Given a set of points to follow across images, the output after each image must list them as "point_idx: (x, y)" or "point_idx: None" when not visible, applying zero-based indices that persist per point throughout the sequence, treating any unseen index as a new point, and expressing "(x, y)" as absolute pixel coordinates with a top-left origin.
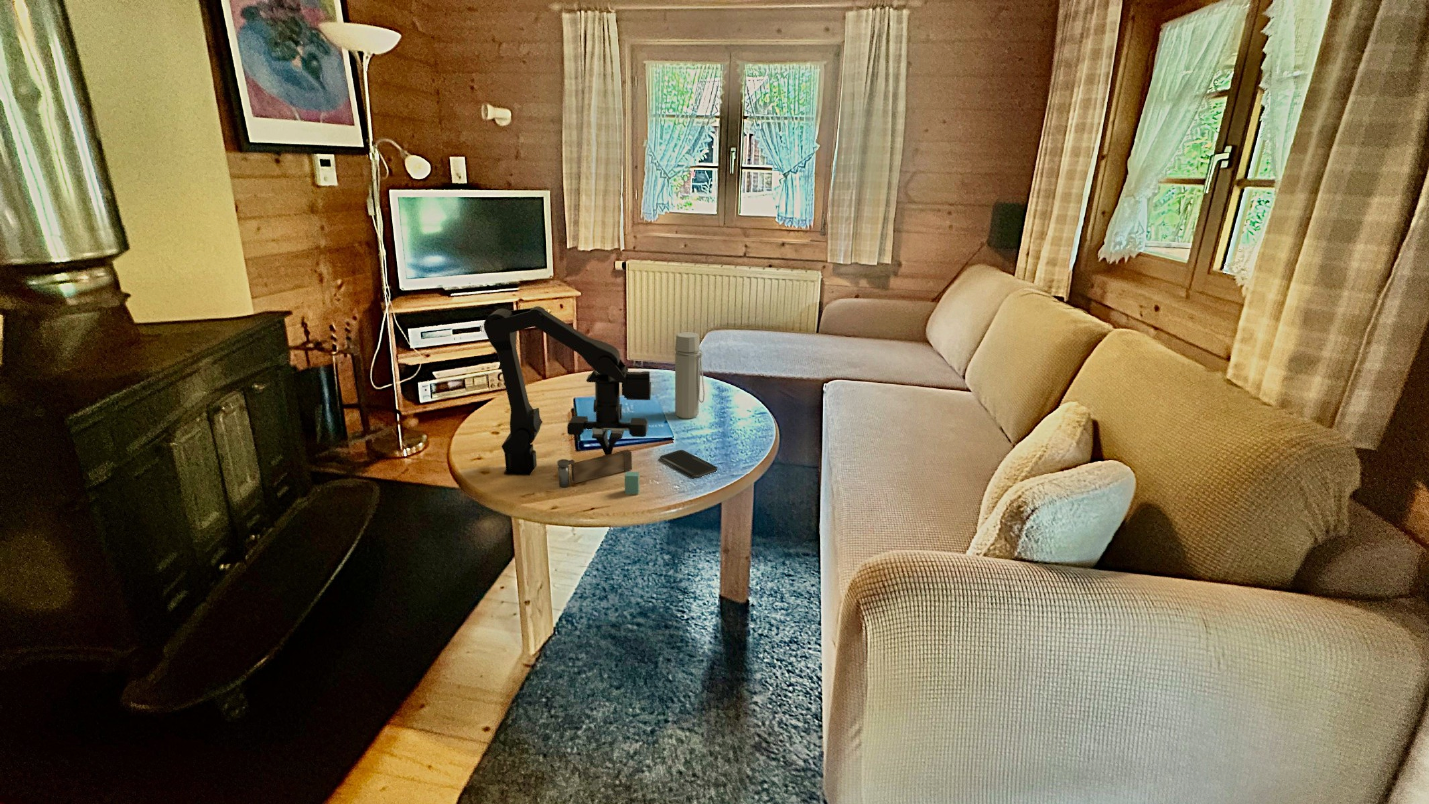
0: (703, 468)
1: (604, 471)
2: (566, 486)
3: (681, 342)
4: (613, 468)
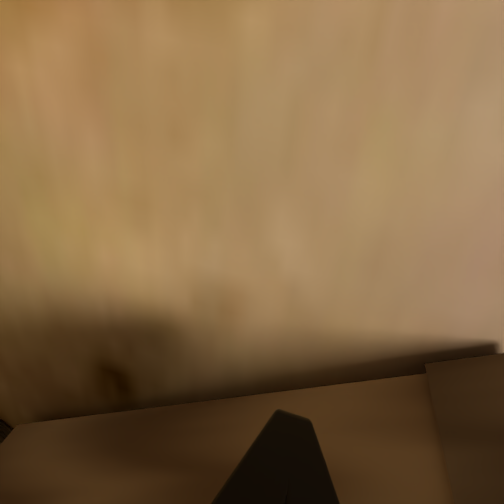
0: None
1: None
2: None
3: None
4: None
